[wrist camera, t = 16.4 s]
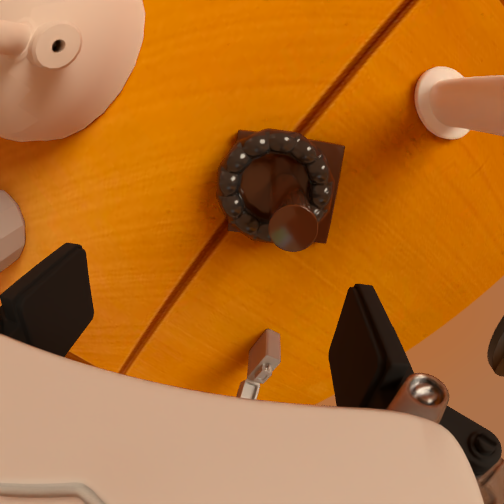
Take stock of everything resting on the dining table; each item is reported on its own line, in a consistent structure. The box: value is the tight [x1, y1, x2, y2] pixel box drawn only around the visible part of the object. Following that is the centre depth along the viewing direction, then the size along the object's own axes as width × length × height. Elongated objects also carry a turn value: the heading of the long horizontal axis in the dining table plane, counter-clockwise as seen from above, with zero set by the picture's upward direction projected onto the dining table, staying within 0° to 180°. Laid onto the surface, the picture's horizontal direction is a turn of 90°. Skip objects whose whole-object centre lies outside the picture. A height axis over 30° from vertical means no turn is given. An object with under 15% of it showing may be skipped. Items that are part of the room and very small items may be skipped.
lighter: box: [236, 329, 281, 400], centre depth 32 cm, size 7×2×8 cm, turn 150°
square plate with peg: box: [228, 130, 345, 252], centre depth 23 cm, size 9×9×11 cm
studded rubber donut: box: [216, 129, 335, 243], centre depth 26 cm, size 10×10×2 cm
